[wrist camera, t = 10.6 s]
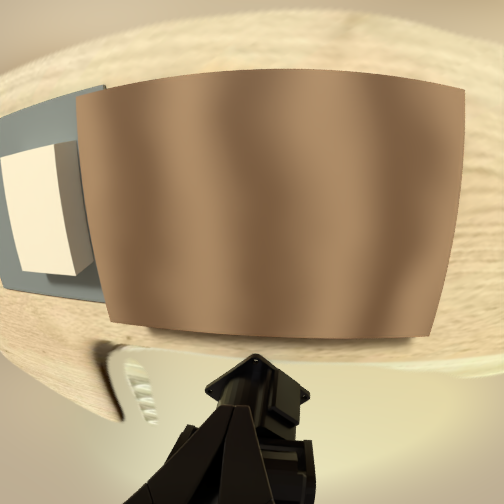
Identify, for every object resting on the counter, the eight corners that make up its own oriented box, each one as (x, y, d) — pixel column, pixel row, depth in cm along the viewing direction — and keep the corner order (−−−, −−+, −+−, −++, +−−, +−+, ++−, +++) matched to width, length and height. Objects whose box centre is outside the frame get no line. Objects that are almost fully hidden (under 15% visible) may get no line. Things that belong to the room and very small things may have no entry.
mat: (105, 85, 17) (103, 84, 17) (132, 303, 23) (130, 305, 23) (-25, 129, 19) (-27, 129, 19) (5, 286, 25) (3, 287, 25)
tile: (0, 157, 17) (22, 152, 19) (22, 270, 21) (40, 258, 23) (53, 144, 16) (76, 140, 19) (75, 275, 20) (94, 261, 22)
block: (433, 94, 15) (464, 89, 12) (411, 302, 20) (429, 336, 17) (111, 98, 18) (75, 96, 14) (135, 292, 23) (110, 321, 19)
